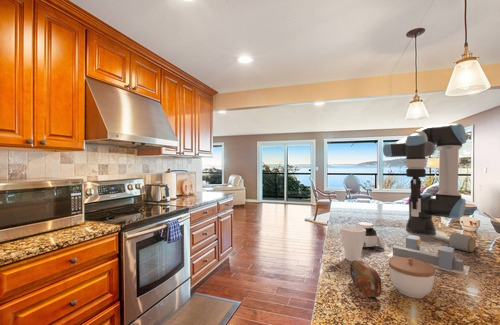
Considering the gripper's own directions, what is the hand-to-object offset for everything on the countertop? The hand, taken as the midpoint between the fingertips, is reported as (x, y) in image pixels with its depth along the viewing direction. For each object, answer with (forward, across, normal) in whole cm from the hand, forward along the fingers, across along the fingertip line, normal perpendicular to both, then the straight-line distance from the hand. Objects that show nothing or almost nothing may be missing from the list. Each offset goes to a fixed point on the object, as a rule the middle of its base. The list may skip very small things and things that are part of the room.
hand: (416, 214), depth 114 cm
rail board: (+18, +10, +4) cm, 21 cm away
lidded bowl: (+19, +43, +2) cm, 47 cm away
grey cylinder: (+18, -20, +17) cm, 32 cm away
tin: (+19, +50, -11) cm, 54 cm away
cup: (+19, +25, -21) cm, 38 cm away
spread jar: (+18, +3, -19) cm, 27 cm away
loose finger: (+18, -1, -1) cm, 18 cm away
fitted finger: (+18, +12, +11) cm, 24 cm away
